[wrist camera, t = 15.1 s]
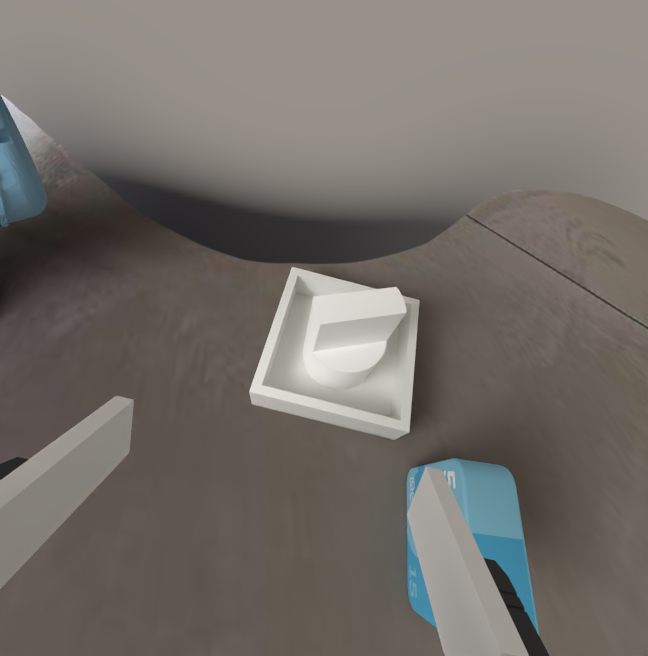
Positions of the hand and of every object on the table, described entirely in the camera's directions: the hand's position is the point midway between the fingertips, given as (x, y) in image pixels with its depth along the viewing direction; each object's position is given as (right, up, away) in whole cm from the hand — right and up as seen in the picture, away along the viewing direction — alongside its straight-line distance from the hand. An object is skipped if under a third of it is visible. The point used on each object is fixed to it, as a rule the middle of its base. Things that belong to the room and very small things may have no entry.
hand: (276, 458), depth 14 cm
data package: (+13, -16, +19) cm, 28 cm away
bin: (+4, +2, +27) cm, 27 cm away
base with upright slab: (+4, +2, +26) cm, 27 cm away
